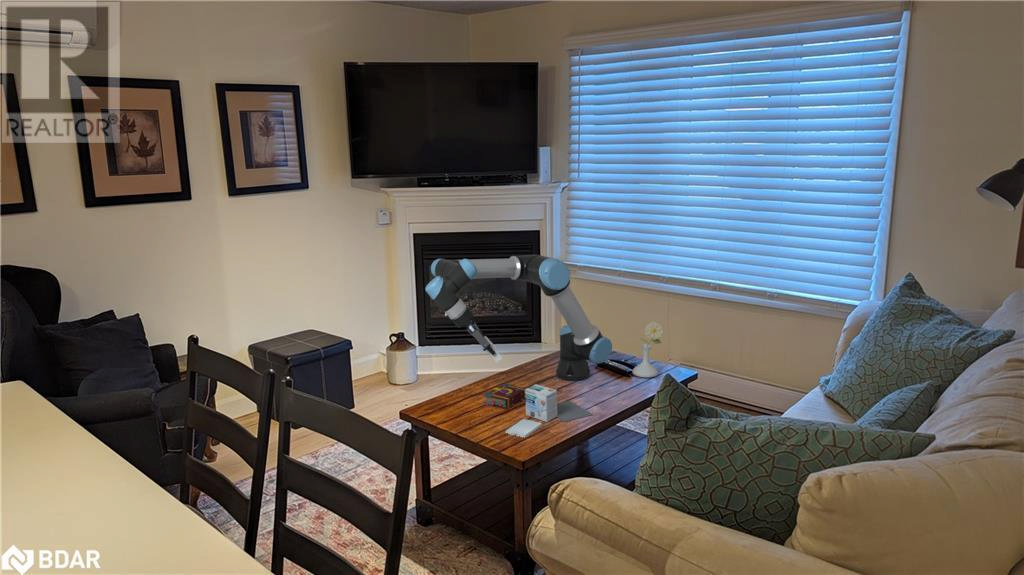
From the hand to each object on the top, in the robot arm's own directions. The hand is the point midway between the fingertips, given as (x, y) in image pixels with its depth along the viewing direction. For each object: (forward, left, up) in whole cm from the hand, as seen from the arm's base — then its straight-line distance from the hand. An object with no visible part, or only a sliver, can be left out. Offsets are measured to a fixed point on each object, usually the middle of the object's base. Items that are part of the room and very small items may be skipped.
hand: (496, 355), depth 256 cm
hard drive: (-4, +13, -26) cm, 29 cm away
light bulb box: (-16, +6, -25) cm, 30 cm away
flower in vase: (-80, -9, -25) cm, 84 cm away
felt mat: (-27, +7, -25) cm, 37 cm away
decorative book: (-11, -14, -26) cm, 31 cm away
